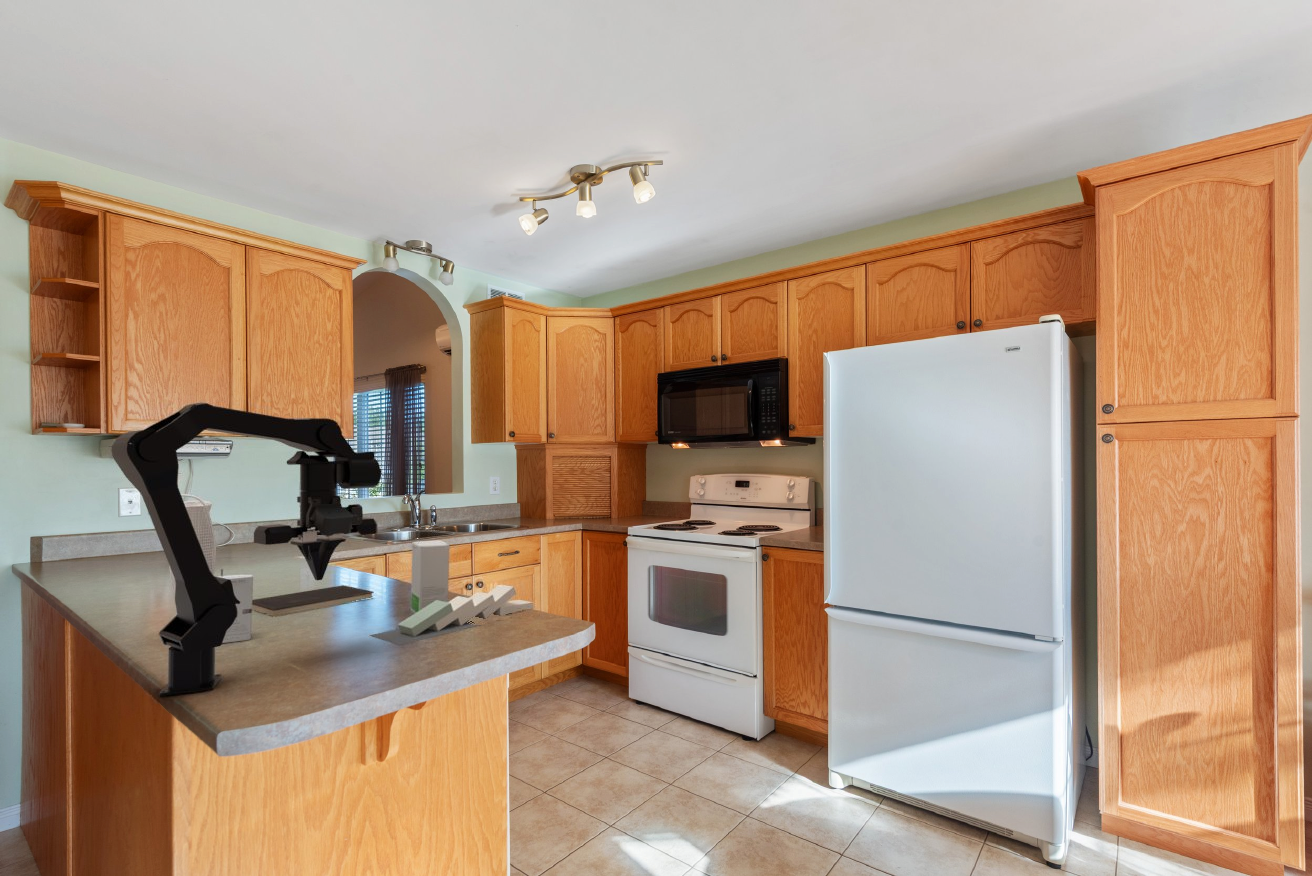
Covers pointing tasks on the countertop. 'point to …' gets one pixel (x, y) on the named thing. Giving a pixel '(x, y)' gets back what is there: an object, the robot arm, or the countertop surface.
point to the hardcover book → (309, 600)
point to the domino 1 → (425, 618)
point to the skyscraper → (200, 533)
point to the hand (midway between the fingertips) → (318, 579)
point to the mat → (402, 638)
